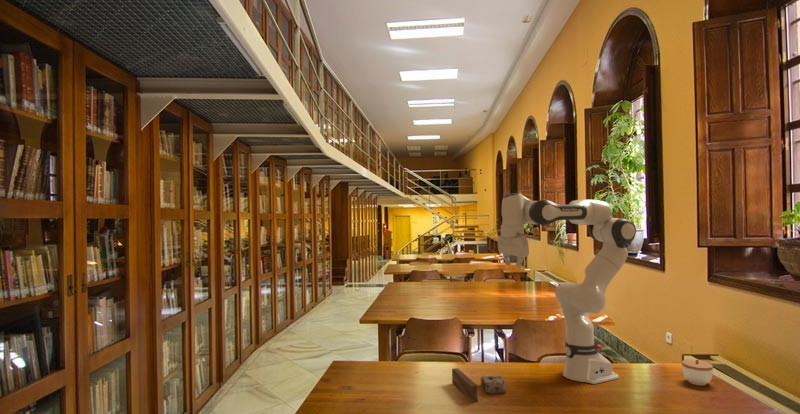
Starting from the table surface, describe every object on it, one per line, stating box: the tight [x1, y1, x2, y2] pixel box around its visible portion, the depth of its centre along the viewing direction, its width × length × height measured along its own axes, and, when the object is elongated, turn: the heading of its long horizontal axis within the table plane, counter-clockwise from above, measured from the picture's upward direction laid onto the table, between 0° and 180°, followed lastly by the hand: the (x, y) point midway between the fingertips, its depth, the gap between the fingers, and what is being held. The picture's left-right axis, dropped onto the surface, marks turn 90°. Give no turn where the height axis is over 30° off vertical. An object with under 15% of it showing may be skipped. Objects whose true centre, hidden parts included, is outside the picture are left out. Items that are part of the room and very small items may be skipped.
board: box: [451, 368, 479, 403], centre depth 182 cm, size 2×20×6 cm, turn 14°
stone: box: [480, 375, 507, 394], centre depth 185 cm, size 13×6×10 cm
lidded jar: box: [681, 358, 714, 386], centre depth 190 cm, size 11×11×9 cm
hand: (513, 266), depth 191 cm, fingers open, 8 cm apart
